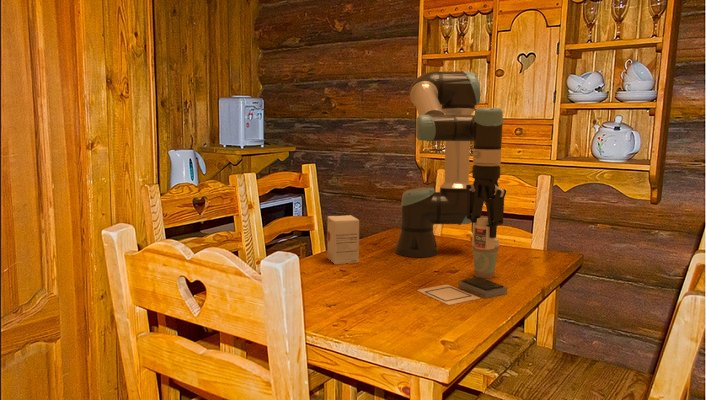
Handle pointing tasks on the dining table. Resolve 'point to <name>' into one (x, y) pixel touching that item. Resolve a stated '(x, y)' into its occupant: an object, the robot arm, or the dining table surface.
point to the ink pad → (483, 287)
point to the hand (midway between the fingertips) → (483, 246)
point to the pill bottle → (480, 233)
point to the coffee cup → (485, 261)
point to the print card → (448, 294)
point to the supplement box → (343, 239)
